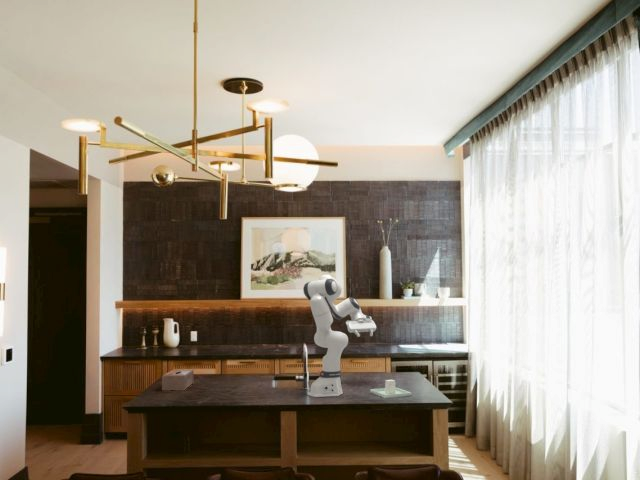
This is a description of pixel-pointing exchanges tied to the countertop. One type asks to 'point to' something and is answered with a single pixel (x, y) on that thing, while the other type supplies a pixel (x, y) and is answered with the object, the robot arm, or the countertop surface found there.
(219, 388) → the countertop surface
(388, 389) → the caddy
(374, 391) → the tray
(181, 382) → the tissue box cover
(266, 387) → the countertop surface
